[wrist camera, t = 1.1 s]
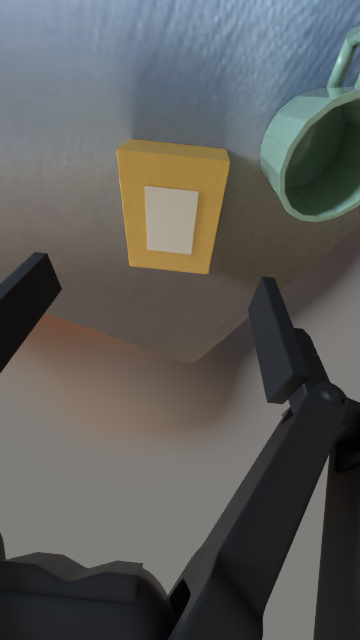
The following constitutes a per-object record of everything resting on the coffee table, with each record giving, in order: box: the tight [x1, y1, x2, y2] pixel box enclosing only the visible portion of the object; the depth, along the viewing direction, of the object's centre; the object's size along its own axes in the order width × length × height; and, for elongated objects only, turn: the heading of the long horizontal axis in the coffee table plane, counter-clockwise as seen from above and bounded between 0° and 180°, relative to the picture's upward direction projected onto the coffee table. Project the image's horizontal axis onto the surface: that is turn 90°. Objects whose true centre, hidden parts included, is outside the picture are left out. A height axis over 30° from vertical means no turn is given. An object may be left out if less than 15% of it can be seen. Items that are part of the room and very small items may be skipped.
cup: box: [260, 23, 360, 222], centre depth 15 cm, size 10×7×8 cm
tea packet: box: [116, 139, 230, 274], centre depth 21 cm, size 10×8×5 cm
